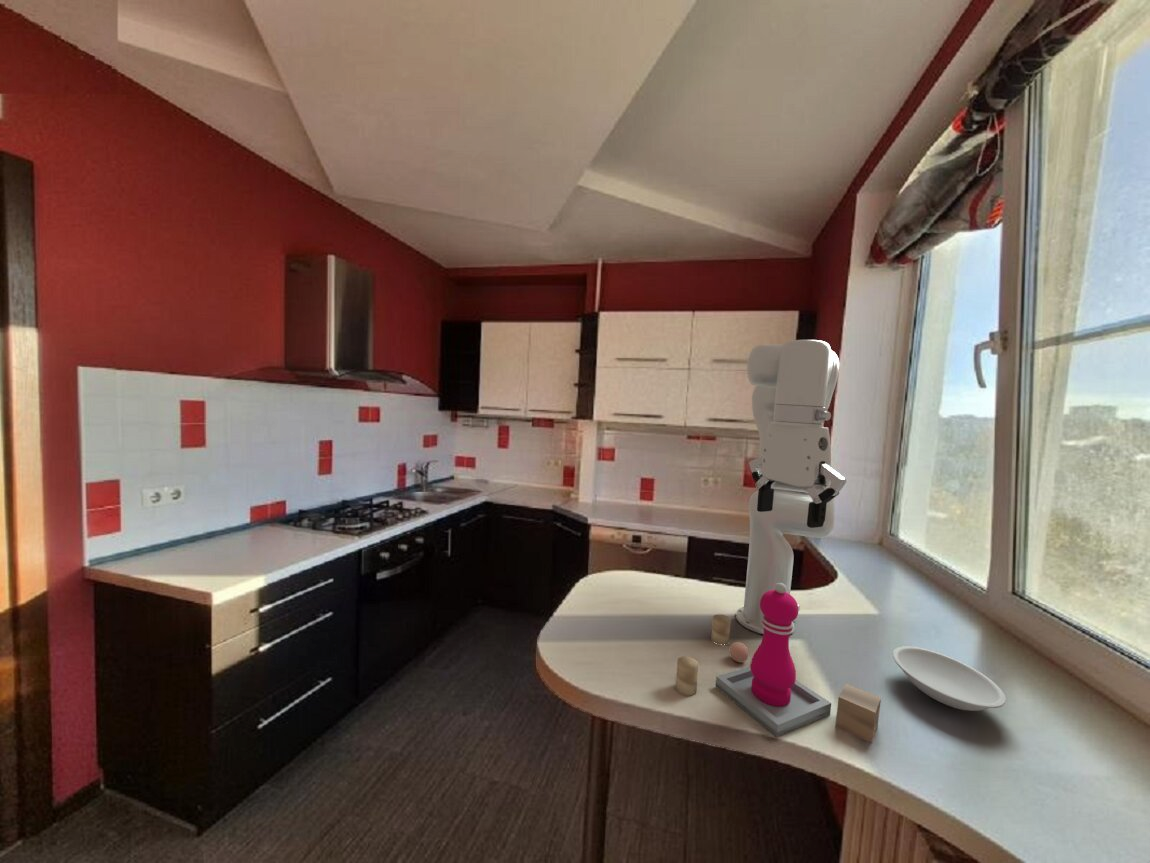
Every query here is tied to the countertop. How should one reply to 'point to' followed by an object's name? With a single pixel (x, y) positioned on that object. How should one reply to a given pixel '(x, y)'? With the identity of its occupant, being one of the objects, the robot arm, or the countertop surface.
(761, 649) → the pepper mill
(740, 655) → the ball
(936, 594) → the countertop surface
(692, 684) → the cork
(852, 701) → the walnut block
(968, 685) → the dish
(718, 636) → the cork
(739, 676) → the tray
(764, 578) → the robot arm
